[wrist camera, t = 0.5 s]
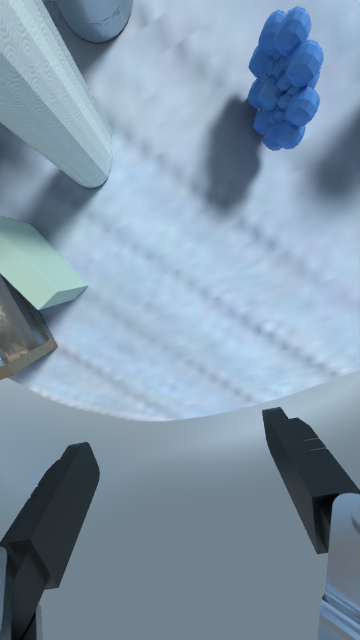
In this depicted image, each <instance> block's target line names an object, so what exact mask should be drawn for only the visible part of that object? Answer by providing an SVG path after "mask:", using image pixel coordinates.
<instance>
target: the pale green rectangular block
mask: <svg viewBox="0 0 360 640" xmlns="http://www.w3.org/2000/svg"><path fill="white" fill-rule="evenodd" d="M0 273H1V274H2V275H3V276H4V277H5V278H6V279H7V280H8V281H9V282H10V283H11V284H12V285H13V286H14V287H15V288H16V289H17V290H18V291H19V292H20V293H21V294H22V295H23V296H24V297H25V298H26V299H27V300H28V301H29V302H30V303H31V304H32V305H33V306H34V307H35V308H36V309H37V310H41V309H44V308H48V307H51V306H54V305H58V304H61V303H64V302H67V301H71V300H74V299H75V298H76V297H77V296H78V295H79V294H80V293H81V292H82V291H84V290H85V289H86V288H87V287H88V286H89V285H88V284H87V283H86V282H85V281H84V280H83V279H82V278H81V277H80V276H79V274H78V273H77V272H76V271H75V270H74V269H73V268H72V267H71V266H70V265H69V264H68V263H67V262H66V261H65V260H64V259H63V257H62V256H61V255H60V254H59V253H58V252H57V251H56V250H55V249H54V248H53V247H52V246H51V245H50V244H49V243H48V242H47V240H46V239H45V238H44V237H43V236H42V235H41V234H40V233H39V232H38V231H37V230H36V229H35V228H34V227H33V226H32V225H31V224H28V223H24V222H21V221H17V220H13V219H10V218H6V217H2V216H0Z"/></svg>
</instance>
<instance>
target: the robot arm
mask: <svg viewBox="0 0 360 640" xmlns="http://www.w3.org/2000/svg"><path fill="white" fill-rule="evenodd" d="M55 1H56V3H57V5H58V7H59V9H60V11H61V14H62V16H63V17H64V19H65V21H66V23H67V24H68V26H69V27H70V28H71V29H72V30H73V32H75V33H76V34H77V35H78V36H80V37H81V38H83V39H85V40H87V41H91V42H105V41H107V40H110V39H112V38H113V37H115V36H116V35H118V34H119V32H120V31H121V30H122V29H123V28H124V26H125V24H126V23H127V21H128V18H129V15H130V12H131V8H132V2H133V0H55ZM262 414H263V421H264V427H265V434H266V440H267V444H268V447H269V450H270V453H271V455H272V457H273V459H274V461H275V464H276V466H277V468H278V470H279V472H280V475H281V477H282V479H283V481H284V483H285V486H286V488H287V490H288V492H289V494H290V496H291V499H292V501H293V503H294V505H295V507H296V509H297V511H298V514H299V516H300V518H301V520H302V522H303V524H304V527H305V529H306V531H307V533H308V535H309V538H310V539H311V542H312V544H313V546H314V548H315V551H316V553H317V554H321V553H328V564H327V575H326V586H325V593H324V595H323V597H322V602H321V610H320V619H319V628H318V640H360V490H359V489H358V488H357V486H356V485H355V484H354V482H353V481H352V480H351V479H350V477H349V476H348V475H347V473H346V472H345V471H344V469H343V468H342V467H341V466H340V464H339V463H338V462H337V460H336V459H335V458H334V457H333V455H332V454H331V453H330V451H329V450H328V449H326V446H325V445H324V444H323V443H322V441H321V440H320V439H319V438H318V436H317V435H316V434H315V432H314V431H313V430H312V428H311V427H310V426H309V425H307V424H306V423H305V422H303V421H302V420H300V419H299V418H293V419H288V417H287V416H286V414H285V413H284V411H283V410H282V409H281V408H280V407H277V408H271V409H266V410H262ZM99 476H100V472H99V467H98V464H97V461H96V459H95V457H94V454H93V452H92V449H91V447H90V445H89V443H88V442H84V443H78V444H73V445H69V446H68V447H67V449H66V450H65V452H64V453H63V455H62V457H61V458H60V460H57V461H56V462H55V463H54V464H53V465H52V466H51V467H50V468H49V469H48V470H47V471H46V473H45V474H44V476H43V477H42V479H41V480H40V482H39V483H38V487H36V488H35V490H34V491H33V493H32V494H31V497H30V499H28V501H27V502H26V503H25V505H24V507H23V508H22V510H21V511H20V513H19V514H18V516H17V517H16V519H15V520H14V522H13V524H12V525H11V527H10V528H9V530H8V531H7V533H6V534H5V536H4V538H3V539H2V540H1V542H0V640H43V630H42V610H41V605H40V603H39V601H40V598H41V596H42V594H43V591H44V590H45V589H53V588H58V587H59V585H60V582H61V579H62V577H63V574H64V572H65V569H66V567H67V564H68V561H69V559H70V556H71V553H72V551H73V548H74V545H75V543H76V540H77V537H78V535H79V532H80V530H81V527H82V524H83V522H84V519H85V517H86V514H87V511H88V509H89V506H90V504H91V501H92V498H93V496H94V493H95V490H96V487H97V485H98V482H99Z"/></svg>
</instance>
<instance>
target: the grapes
mask: <svg viewBox="0 0 360 640" xmlns="http://www.w3.org/2000/svg"><path fill="white" fill-rule="evenodd" d="M310 29H311V21H310V17H309V15H308V13H307V12H306V10H305V9H304V8H301V7H298V6H297V7H295V8H293V9H291V10H289V11H288V13H287V14H286V13H285V12H283V11H280V10H277V11H275V12H273V13H272V14H271V15H270V16H269V18H268V19H267V21H266V22H265V25H264V27H263V30H262V32H261V35H260V38H259V42H258V43H259V44H258V46H257V47H256V49H255V50H254V53H253V55H252V58H251V60H250V64H249V69H250V71H251V72H252V73H253V75H254V76H255V77H257V79H256V80H255V81H254V83H253V84H252V87H251V89H250V91H249V94H248V98H247V100H248V101H249V103H250V104H251V105H252V106H253V107H255V108H257V109H260V110H259V111H258V113H257V115H256V117H255V120H254V124H253V128H254V129H255V130H256V131H257V132H258V133H259V134H261V135H265V137H264V140H263V143H264V144H265V145H266V146H267V147H268V148H269V149H271V150H273V151H275V150H280V149H281V148H282V147H283V148H285V149H292V148H294V147H295V146H297V145H298V144H299V143H300V141H301V139H302V138H303V135H304V132H305V128H306V127H305V125H306V124H307V123H308V122H309V121H311V120H312V118H313V117H314V115H315V113H316V112H317V109H318V106H319V102H320V99H319V96H318V94H317V92H316V91H315V90H314V87H315V86H316V84H317V81H318V78H319V74H320V72H319V70H320V68H321V65H322V62H323V51H322V48H321V47H320V45H319V44H318V43H317V42H315V41H313V40H308V41H306V40H307V38H308V35H309V32H310Z"/></svg>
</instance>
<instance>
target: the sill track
mask: <svg viewBox="0 0 360 640" xmlns="http://www.w3.org/2000/svg"><path fill="white" fill-rule="evenodd" d="M56 347H58V346H57V344H56V342H55V340H54V338H53V336H52V335H51V333H50V331H49V329H48V327H47V325H46V323H45V322H44V320H43V318H42V316H41V314H40V312H39V310H37V309H36V308H35V307H34V306H33V305H32V304H31V303H30V302H29V301H28V300H27V299H26V298H25V297H24V296H23V295H22V294H21V293H20V292H19V291H18V290H17V289H16V288H15V287H14V286H13V285H12V284H11V283H10V282H9V281H8V280H7V279H6V278H5V277H4V276H3V275H2V274H1V273H0V357H1V360H0V380H1V379H4V378H7V377H9V376H12V375H14V374H16V373H18V372H19V371H21V370H22V369H24V368H25V367H27V366H28V365H30V364H32V363H33V362H35V361H36V360H38V359H39V358H41V357H42V356H44V355H46V354H47V353H49V352H50V351H52V350H53V349H55V348H56Z"/></svg>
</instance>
